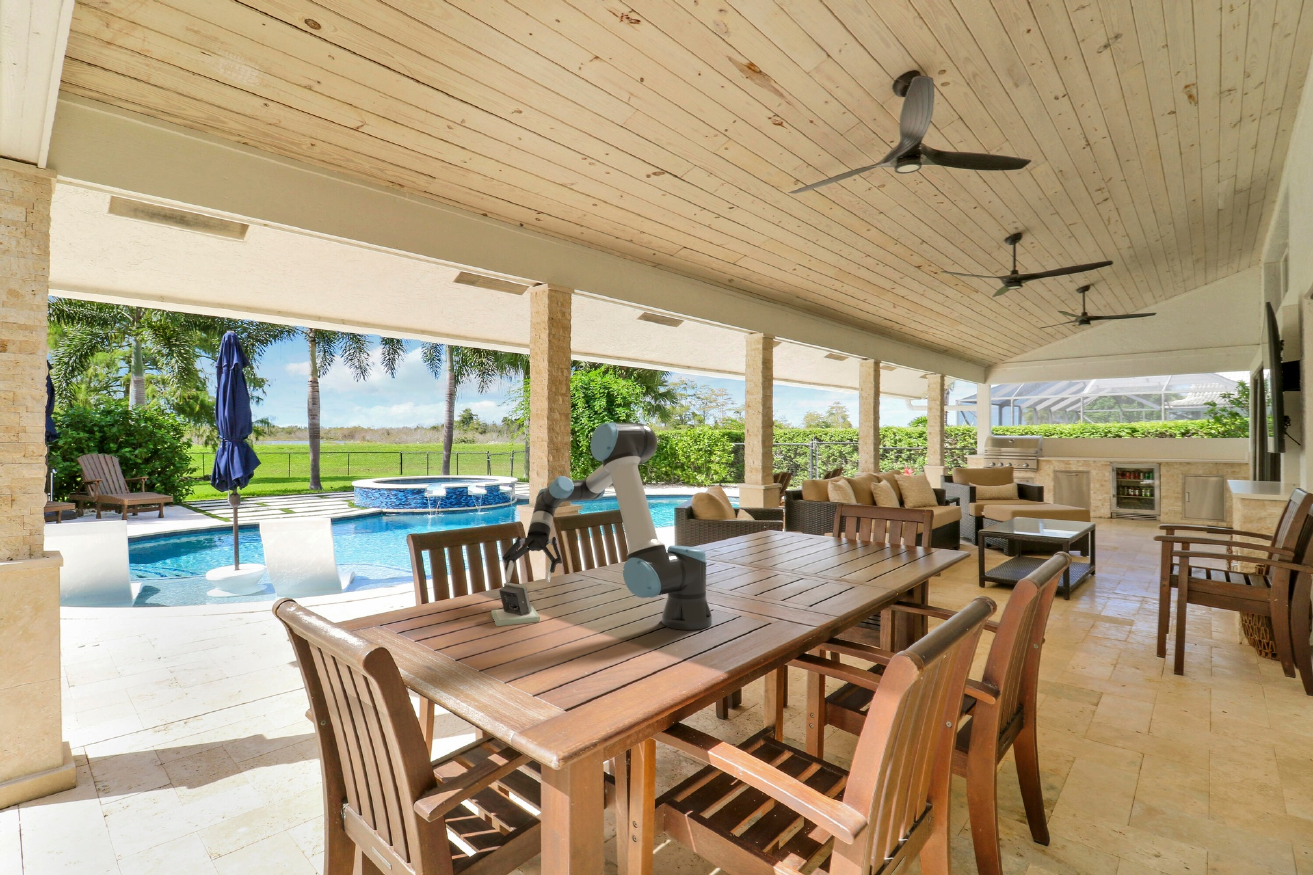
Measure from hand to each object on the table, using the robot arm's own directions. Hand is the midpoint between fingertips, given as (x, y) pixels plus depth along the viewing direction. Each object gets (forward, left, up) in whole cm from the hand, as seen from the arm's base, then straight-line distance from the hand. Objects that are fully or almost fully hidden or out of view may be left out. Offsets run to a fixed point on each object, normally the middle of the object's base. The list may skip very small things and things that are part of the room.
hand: (527, 580), depth 205 cm
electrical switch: (-10, +5, -8) cm, 14 cm away
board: (-9, +5, -9) cm, 14 cm away
